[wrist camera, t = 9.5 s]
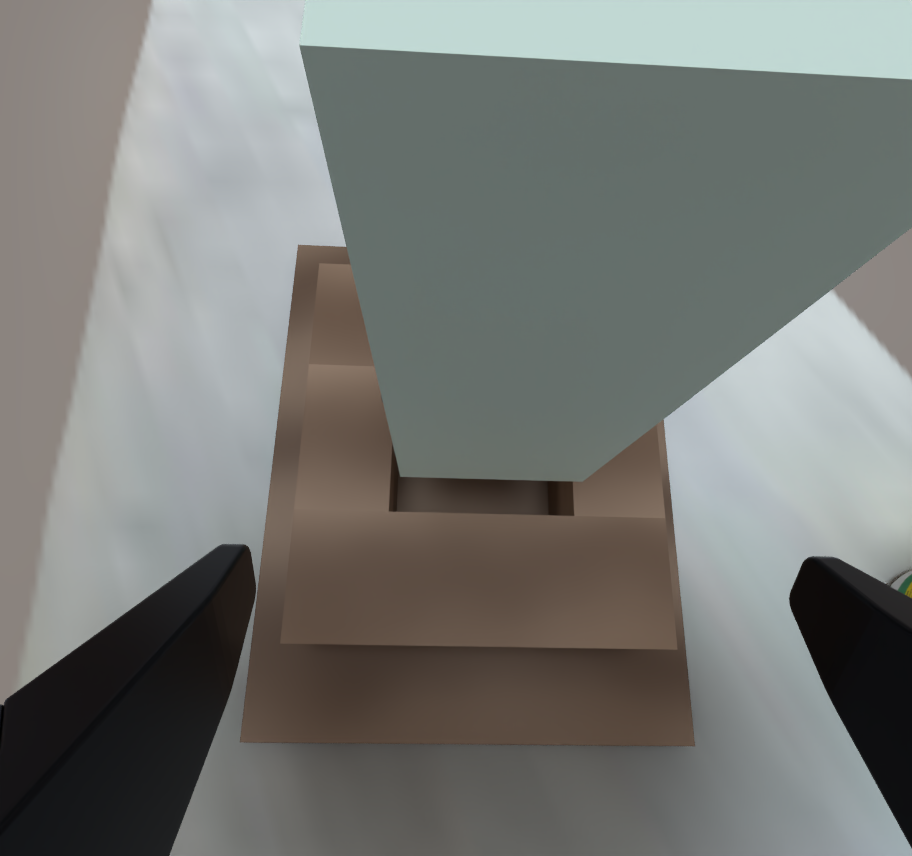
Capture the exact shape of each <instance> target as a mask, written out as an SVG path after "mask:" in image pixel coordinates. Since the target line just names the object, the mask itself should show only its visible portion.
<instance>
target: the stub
mask: <svg viewBox="0 0 912 856" xmlns="http://www.w3.org/2000/svg"><path fill="white" fill-rule="evenodd" d="M299 46H300V50H301V55H302V59H303V63H304V67H305V72H306V76H307V80H308V84H309V89H310V93H311V97H312V101H313V106H314V110H315V114H316V119H317V123H318V127H319V131H320V136H321V140H322V144H323V148H324V153H325V157H326V161H327V166H328V170H329V174H330V178H331V183H332V187H333V191H334V195H335V200H336V204H337V208H338V213H339V217H340V221H341V225H342V230H343V234H344V238H345V242H346V247H347V251H348V255H349V259H350V264H351V268H352V272H353V277H354V281H355V285H356V289H357V294H358V298H359V302H360V306H361V311H362V315H363V319H364V324H365V328H366V332H367V336H368V341H369V345H370V349H371V353H372V358H373V362H374V366H375V370H376V375H377V379H378V383H379V388H380V392H381V399H382V402H383V405H384V409H385V413H386V417H387V422H388V426H389V430H390V435H391V439H392V443H393V447H394V452H395V456H396V460H397V464H398V469H399V473H400V477H424V478H461V479H499V480H536V481H573V482H583V481H584V480H585V479H587V478H588V477H589V476H591V475H592V474H593V473H594V472H596V471H597V470H598V469H600V468H601V467H602V466H603V465H605V464H606V463H607V462H609V461H610V460H611V459H613V458H614V457H615V456H616V455H618V454H619V453H620V452H622V451H623V450H624V449H626V448H627V447H628V446H629V445H631V444H632V443H633V442H635V441H636V440H637V439H638V438H640V437H641V436H642V435H644V434H645V433H646V432H648V431H649V430H650V429H651V428H653V427H654V426H655V425H657V424H658V423H659V422H661V421H662V420H663V419H664V418H666V417H667V416H668V415H670V414H671V413H672V412H673V411H675V410H676V409H677V408H679V407H680V406H681V405H683V404H684V403H685V402H686V401H688V400H689V399H690V398H692V397H693V396H694V395H695V394H697V393H698V392H699V391H701V390H702V389H703V388H705V387H706V386H707V385H708V384H710V383H711V382H712V381H714V380H715V379H716V378H718V377H719V376H720V375H721V374H723V373H724V372H725V371H727V370H728V369H729V368H730V367H732V366H733V365H734V364H736V363H737V362H738V361H740V360H741V359H742V358H743V357H745V356H746V355H747V354H749V353H750V352H751V351H753V350H754V349H755V348H756V347H758V346H759V345H760V344H762V343H763V342H764V341H765V340H767V339H768V338H769V337H771V336H772V335H773V334H775V333H776V332H777V331H778V330H780V329H781V328H782V327H784V326H785V325H786V324H787V323H789V322H790V321H791V320H793V319H794V318H795V317H797V316H798V315H799V314H800V313H802V312H803V311H804V310H806V309H807V308H808V307H810V306H811V305H812V304H813V303H815V302H816V301H817V300H819V299H820V298H821V297H822V296H824V295H825V294H826V293H828V292H829V291H830V290H832V289H833V288H834V287H835V286H837V285H838V284H839V283H841V282H842V281H843V280H845V279H846V278H847V277H848V276H850V275H851V274H852V273H853V272H855V271H856V270H857V269H859V268H860V267H861V266H863V265H864V264H865V263H866V262H868V261H869V260H870V259H872V258H873V257H874V256H876V255H877V254H878V253H879V252H881V251H882V250H883V249H885V248H886V247H887V246H888V245H890V244H891V243H892V242H894V241H895V240H896V239H898V238H899V237H900V236H901V235H903V234H904V233H905V232H907V231H908V230H909V229H911V228H912V0H305V6H304V13H303V21H302V28H301V36H300V44H299Z"/></svg>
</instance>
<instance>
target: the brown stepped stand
mask: <svg viewBox="0 0 912 856" xmlns="http://www.w3.org/2000/svg"><path fill="white" fill-rule="evenodd" d="M240 742H253V743H371V744H489V745H608V746H695V742H694V731H693V721H692V711H691V700H690V690H689V680H688V669H687V659H686V648H685V638H684V628H683V617H682V607H681V597H680V586H679V576H678V565H677V555H676V545H675V534H674V524H673V514H672V503H671V493H670V482H669V472H668V462H667V451H666V441H665V431H664V420H662V421H661V422H659V423H658V424H657V425H655V426H654V427H653V428H651V429H650V430H649V431H648V432H646V433H645V434H644V435H642V436H641V437H640V438H638V439H637V440H636V441H635V442H633V443H632V444H631V445H629V446H628V447H627V448H626V449H624V450H623V451H622V452H620V453H619V454H618V455H616V456H615V457H614V458H613V459H611V460H610V461H609V462H607V463H606V464H605V465H603V466H602V467H601V468H600V469H598V470H597V471H596V472H594V473H593V474H592V475H591V476H589V477H588V478H587V479H585V480H584V481H583V482H573V481H536V480H499V479H461V478H424V477H400V473H399V469H398V464H397V460H396V456H395V452H394V447H393V443H392V439H391V435H390V430H389V426H388V422H387V417H386V413H385V409H384V405H383V402H382V399H381V392H380V388H379V383H378V379H377V375H376V370H375V366H374V362H373V358H372V353H371V349H370V345H369V341H368V336H367V332H366V328H365V324H364V319H363V315H362V311H361V306H360V302H359V298H358V294H357V289H356V285H355V281H354V277H353V272H352V268H351V264H350V259H349V255H348V251H347V247H335V246H311V245H298V251H297V259H296V268H295V276H294V285H293V293H292V302H291V310H290V319H289V327H288V336H287V344H286V353H285V362H284V370H283V379H282V387H281V396H280V404H279V413H278V421H277V430H276V438H275V447H274V455H273V464H272V473H271V481H270V490H269V498H268V507H267V515H266V524H265V532H264V541H263V549H262V558H261V566H260V575H259V584H258V592H257V601H256V609H255V618H254V626H253V635H252V643H251V652H250V660H249V669H248V677H247V686H246V695H245V703H244V712H243V720H242V729H241V737H240Z"/></svg>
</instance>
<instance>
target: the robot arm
mask: <svg viewBox="0 0 912 856" xmlns="http://www.w3.org/2000/svg"><path fill="white" fill-rule="evenodd" d="M255 594H256V582H255V576H254V570H253V564H252V557H251V552H250V549H249V547H248V546H246V545H244V544H222V545H220V546H218V547H216V548H215V549H214V550H212V551H211V552H209V553H208V554H207V555H205V556H204V557H203V558H201V559H200V560H198V561H197V562H196V563H194V564H193V565H191V566H190V567H189V568H187V569H186V570H185V571H183V572H182V573H180V574H179V575H178V576H176V577H175V578H173V579H172V580H171V581H169V582H168V583H166V584H165V585H164V586H162V587H161V588H160V589H158V590H157V591H155V592H154V593H153V594H151V595H150V596H148V597H147V598H146V599H144V600H143V601H142V602H140V603H139V604H137V605H136V606H135V607H133V608H132V609H130V610H129V611H128V612H126V613H125V614H124V615H122V616H121V617H119V618H118V619H117V620H115V621H114V622H112V623H111V624H110V625H108V626H107V627H106V628H104V629H103V630H101V631H100V632H99V633H97V634H96V635H94V636H93V637H92V638H90V639H89V640H88V641H86V642H85V643H83V644H82V645H81V646H79V647H78V648H76V649H75V650H74V651H72V652H71V653H70V654H68V655H67V656H65V657H64V658H63V659H61V660H60V661H58V662H57V663H56V664H54V665H53V666H52V667H50V668H49V669H47V670H46V671H45V672H43V673H42V674H40V675H39V676H38V677H36V678H35V679H34V680H32V681H31V682H29V683H28V684H27V685H25V686H24V687H22V688H21V689H20V690H18V691H17V692H16V693H14V694H13V695H11V696H10V697H9V698H7V699H6V700H5V702H4V705H0V856H169V855H170V852H171V849H172V847H173V844H174V841H175V839H176V836H177V833H178V831H179V828H180V825H181V823H182V820H183V818H184V815H185V812H186V810H187V807H188V804H189V802H190V799H191V796H192V794H193V791H194V788H195V786H196V783H197V780H198V778H199V775H200V773H201V770H202V767H203V765H204V762H205V759H206V757H207V754H208V751H209V749H210V746H211V743H212V741H213V738H214V736H215V733H216V730H217V728H218V725H219V722H220V720H221V717H222V714H223V712H224V709H225V706H226V704H227V701H228V698H229V695H230V692H231V689H232V685H233V682H234V678H235V675H236V671H237V667H238V663H239V659H240V655H241V651H242V647H243V643H244V639H245V635H246V631H247V628H248V624H249V620H250V616H251V612H252V608H253V604H254V600H255ZM789 601H790V607H791V610H792V613H793V615H794V617H795V620H796V622H797V624H798V627H799V629H800V631H801V634H802V636H803V638H804V641H805V643H806V645H807V647H808V650H809V652H810V654H811V657H812V659H813V661H814V664H815V666H816V668H817V671H818V673H819V675H820V678H821V680H822V682H823V684H824V687H825V689H826V691H827V693H828V695H829V697H830V699H831V701H832V703H833V705H834V707H835V709H836V711H837V713H838V715H839V717H840V718H841V720H842V722H843V724H844V726H845V727H846V729H847V731H848V733H849V735H850V737H851V738H852V740H853V742H854V744H855V746H856V748H857V749H858V751H859V753H860V755H861V757H862V759H863V760H864V762H865V764H866V766H867V768H868V769H869V771H870V773H871V775H872V777H873V779H874V780H875V782H876V784H877V786H878V788H879V790H880V791H881V793H882V795H883V797H884V799H885V801H886V802H887V804H888V806H889V808H890V810H891V811H892V813H893V815H894V817H895V819H896V821H897V822H898V824H899V826H900V828H901V830H902V832H903V833H904V835H905V837H906V839H907V841H908V843H909V844H910V846H911V848H912V598H910V597H909V596H907V595H905V594H903V593H901V592H899V591H897V590H896V589H894V588H892V587H890V586H888V585H886V584H884V583H883V582H881V581H879V580H877V579H875V578H873V577H871V576H870V575H868V574H866V573H864V572H862V571H860V570H858V569H857V568H855V567H853V566H851V565H849V564H847V563H845V562H844V561H842V560H840V559H838V558H835V557H821V556H812V557H808V558H807V559H806V560H805V561H804V562H803V564H802V566H801V568H800V571H799V573H798V575H797V578H796V580H795V582H794V585H793V587H792V589H791V592H790V597H789Z"/></svg>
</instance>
